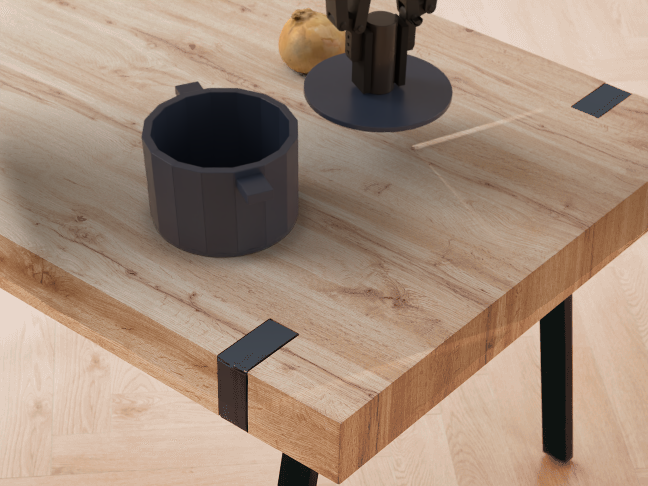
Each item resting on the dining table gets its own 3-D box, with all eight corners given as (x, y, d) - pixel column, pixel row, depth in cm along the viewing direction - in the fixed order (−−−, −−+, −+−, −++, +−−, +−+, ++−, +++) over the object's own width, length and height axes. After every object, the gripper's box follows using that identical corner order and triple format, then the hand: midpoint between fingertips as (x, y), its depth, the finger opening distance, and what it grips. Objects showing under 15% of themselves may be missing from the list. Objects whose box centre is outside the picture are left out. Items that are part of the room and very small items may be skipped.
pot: (189, 291, 95) (181, 205, 89) (125, 173, 108) (114, 91, 102) (333, 251, 100) (335, 167, 94) (256, 143, 113) (253, 63, 107)
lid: (341, 151, 101) (344, 70, 96) (280, 76, 111) (279, -3, 105) (479, 118, 107) (488, 39, 101) (408, 49, 117) (414, -27, 111)
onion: (327, 44, 129) (328, -11, 125) (360, 75, 124) (362, 18, 120) (267, 58, 126) (266, 2, 122) (298, 90, 121) (298, 33, 116)
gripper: (321, -130, 87) (319, 118, 103) (493, -154, 93) (467, 85, 108) (285, -161, 92) (288, 81, 107) (451, -181, 98) (431, 50, 113)
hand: (378, 82), depth 108 cm, fingers closed on lid, 3 cm apart
